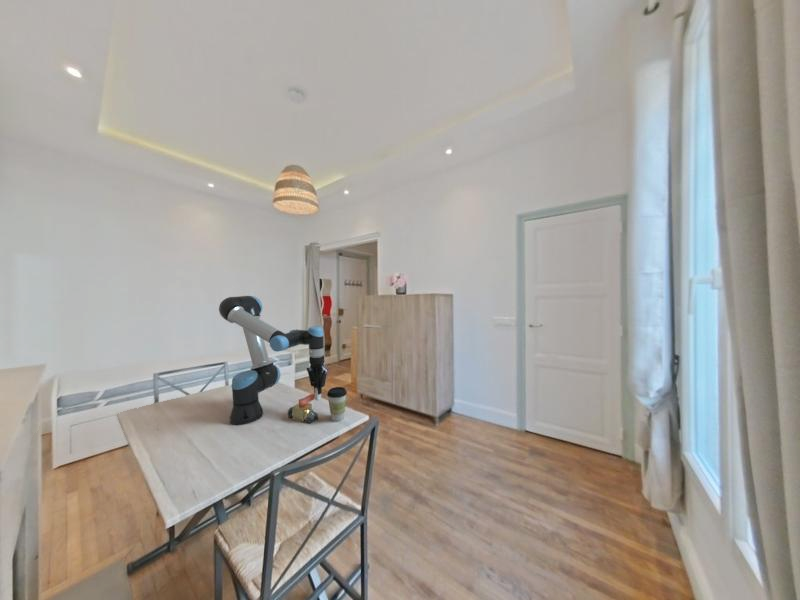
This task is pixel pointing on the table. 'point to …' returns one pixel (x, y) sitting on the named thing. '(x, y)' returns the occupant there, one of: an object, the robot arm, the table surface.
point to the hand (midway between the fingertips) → (318, 399)
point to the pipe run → (303, 413)
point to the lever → (306, 399)
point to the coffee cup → (337, 403)
